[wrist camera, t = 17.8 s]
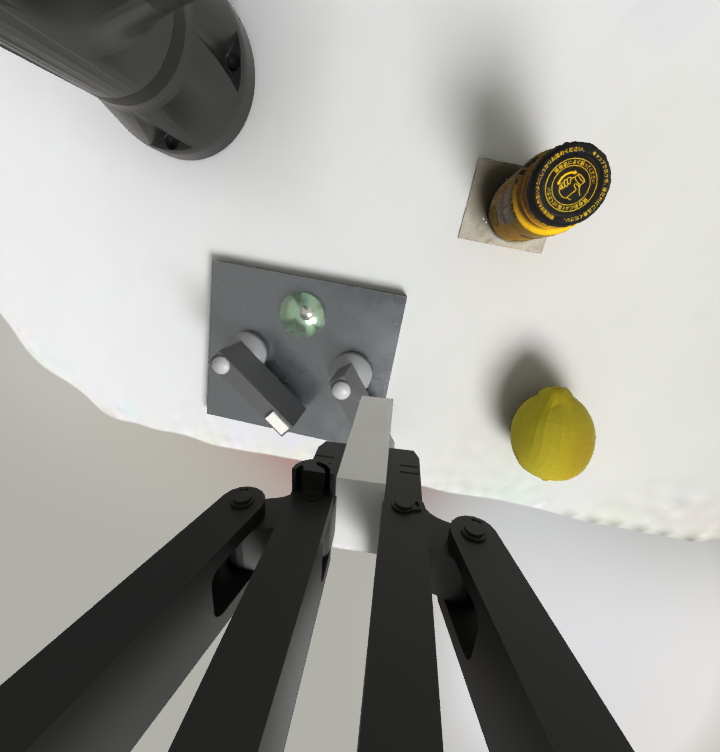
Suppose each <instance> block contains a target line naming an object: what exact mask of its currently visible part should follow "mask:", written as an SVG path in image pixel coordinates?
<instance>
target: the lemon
mask: <svg viewBox="0 0 720 752" xmlns="http://www.w3.org/2000/svg"><path fill="white" fill-rule="evenodd" d="M595 439H596V435H595V428H594V424H593V421H592V419H591V417H590V415H589V413H588V411H587V410H586V408H585V407H584V406H583V404H581V403H580V402H579V401H578V400H577V399H576V398H575V397H573V395H572V393H571V392H570V391H569V390H568V389H567V388H562V387H559V386H552V387H546V388H543V389H542V390H540V392H539V393H538V394H537V395H535V396H532V397H531V398H529V399H528V400H526V401H525V402H524V403H523V404H522V405H521V406H520V407H519V409H518V410H517V412H516V413H515V416H514V418H513V420H512V424H511V445H512V449H513V452H514V454H515V456H516V458H517V460H518V462H519V464H520V465H521V466H522V467H523V468H524V469H525V470H526V471H528V472H529V473H531V474H533V475H535V476H537V477H539V478H541V479H542V480H544V481H548V480H553V481H563V480H568V479H571V478H573V477H575V476H577V475H579V474H580V473H581V472H582V471H583V470H584V469H585V468H586V466H587V465H588V463H589V461H590V459H591V457H592V454H593V451H594V447H595Z"/></svg>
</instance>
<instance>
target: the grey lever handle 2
mask: <svg viewBox="0 0 720 752" xmlns="http://www.w3.org/2000/svg"><path fill="white" fill-rule="evenodd" d="M329 378H330V381H329V383H328V384H329V386H330V388H331V389H332V393H333V395H334V396H335V397H336V398H337V400H338V402H339V404H340V406H341V407H342V409H343V411H344V413H345V415H346V416H347V418H348V420H349V422H350V424H351V425H352V426H353V423H354V419H355V416H356V413H357V410H358V407H359V403H360V400H361V397H362V396H369V394H368V392H367V390H366V388H367V387H368V385H369V383H370V381H371V378H372V368H371V365H370V363H369V362H368V360H367V359H366V358H365V357H364V356H362V355H360V354H358V353H354V352H347V353H343V354H341V355H340V356H338V357H337V358H336V359H335V360H334V362H333V363H332V365H331V367H330V370H329ZM389 448H394V441H393V439H392V437H391V435H390V441H389Z"/></svg>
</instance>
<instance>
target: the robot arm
mask: <svg viewBox="0 0 720 752" xmlns="http://www.w3.org/2000/svg"><path fill="white" fill-rule="evenodd" d="M0 46H1V47H2V48H4V49H6V50H8V51H10V52H12V53H14V54H16V55H18V56H20V57H22V58H23V59H25V60H27V61H29V62H31V63H33V64H35V65H37V66H39V67H41V68H43V69H44V70H46V71H48V72H50V73H52V74H54V75H56V76H58V77H60V78H62V79H64V80H65V81H67V82H69V83H71V84H73V85H75V86H77V87H79V88H81V89H83V90H85V91H86V92H88V93H90V94H92V95H94V96H96V97H98V98H99V100H100V101H101V102H102V103H103V104H104V105H105V106H106V107H107V108H108V109H109V110H110V111H111V112H112V113H113V114H114V116H115V117H116V118H117V119H118V120H119V121H120V122H121V123H122V124H123V125H124V126H125V127H126V128H127V129H128V130H129V131H130V132H131V133H132V134H133V135H134V136H135V137H136V138H138V139H139V140H140V141H142V142H143V143H145V144H146V145H148V146H149V147H151V148H153V149H155V150H157V151H160V152H162V153H164V154H166V155H168V156H171V157H174V158H177V159H182V160H200V159H205V158H208V157H211V156H213V155H215V154H217V153H219V152H220V151H222V150H223V149H225V148H226V147H227V146H228V145H229V144H230V143H231V142H232V141H233V140H234V139H235V138H236V136H237V135H238V134H239V132H240V131H241V129H242V127H243V126H244V124H245V122H246V119H247V117H248V114H249V112H250V108H251V105H252V101H253V95H254V86H255V69H254V60H253V54H252V50H251V46H250V42H249V39H248V36H247V34H246V31H245V29H244V27H243V24H242V23H241V21H240V19H239V17H238V16H237V14H236V12H235V11H234V9H233V8H232V6H231V5H230V4H229V2H228V1H227V0H0ZM392 407H393V399H388V398H379V397H370V396H362V397H361V400H360V403H359V407H358V410H357V413H356V416H355V419H354V423H353V426H352V429H351V432H350V435H349V439H348V442H347V444H346V443H338V442H330V441H326V442H325V443H323V444H322V445H321V446H319V447H318V449H317V452H316V454H315V456H314V458H313V459H309V460H305V461H301V462H299V463H298V464H296V465H295V466H294V467H293V468H292V492H291V494H290V495H288V496H285V497H280V498H270V499H265V495H264V494H263V492H262V491H261V490H259V489H257V488H254V487H239V488H236V489H233V490H231V491H229V492H228V493H226V494H224V495H223V496H222V497H221V498H220V499H219V500H217V501H216V502H215V503H214V504H213V505H212V506H210V507H209V508H208V509H207V510H206V511H204V512H203V513H202V514H201V515H200V516H199V517H197V518H196V519H195V520H194V521H193V522H192V523H190V524H189V525H188V526H187V527H186V528H185V529H184V530H182V531H181V532H180V533H179V534H177V535H176V536H175V537H174V538H173V539H172V540H171V541H169V542H168V543H167V544H166V545H165V546H163V547H162V548H161V549H160V550H159V551H158V552H156V553H155V554H154V555H153V556H152V557H151V558H149V559H148V560H147V561H146V562H145V563H143V564H142V565H141V566H140V567H139V568H138V569H137V570H135V571H134V572H133V573H132V574H131V575H129V576H128V577H127V578H126V579H125V580H124V581H122V582H121V583H120V584H119V585H118V586H117V587H115V588H114V589H113V590H112V591H111V592H109V593H108V594H107V595H106V596H105V597H104V598H102V599H101V600H100V601H99V602H98V603H97V604H96V605H94V606H93V607H92V608H91V609H90V610H89V611H87V612H86V613H85V614H84V615H83V616H81V617H80V618H79V619H78V620H77V621H76V622H74V623H73V624H72V625H71V626H70V627H69V628H67V629H66V630H65V631H64V632H63V633H61V634H60V635H59V636H58V637H57V638H56V639H54V640H53V641H52V642H51V643H50V644H48V645H47V646H46V647H45V648H44V649H43V650H42V651H40V652H39V653H38V654H37V655H36V656H35V657H33V658H32V659H31V660H30V661H29V662H27V663H26V664H25V665H24V666H23V667H22V668H20V669H19V670H18V671H17V672H16V673H14V674H13V675H12V676H11V677H10V678H9V679H8V680H7V681H5V682H4V683H3V684H2V685H1V686H0V752H130V751H131V750H132V749H133V747H134V746H135V745H136V743H137V742H138V741H139V739H140V738H141V737H142V735H143V734H144V733H145V731H146V730H147V729H148V727H149V726H150V725H151V723H152V722H153V721H154V719H155V718H156V717H157V715H158V714H159V713H160V711H161V710H162V709H163V707H164V706H165V705H166V703H167V702H168V701H169V699H170V698H171V697H172V695H173V694H174V693H175V691H176V690H177V689H178V687H179V686H180V685H181V683H182V682H183V681H184V679H185V678H186V677H187V675H188V674H189V673H190V671H191V670H192V669H193V667H194V666H195V665H196V663H197V662H198V660H199V659H200V658H201V657H202V655H203V654H204V653H205V651H206V650H207V649H208V647H209V646H210V645H211V643H212V642H213V641H214V639H215V638H216V637H217V635H218V634H219V633H220V631H221V630H222V629H223V627H224V626H225V625H226V623H227V622H228V621H229V619H230V618H231V617H232V618H231V620H230V622H229V624H228V627H227V629H226V631H225V633H224V635H223V637H222V639H221V641H220V644H219V646H218V648H217V650H216V652H215V654H214V656H213V658H212V660H211V663H210V665H209V667H208V669H207V671H206V673H205V675H204V677H203V679H202V681H201V683H200V685H199V688H198V690H197V692H196V694H195V696H194V698H193V700H192V702H191V704H190V706H189V709H188V711H187V713H186V715H185V717H184V719H183V721H182V723H181V725H180V728H179V730H178V732H177V734H176V736H175V738H174V740H173V742H172V744H171V746H170V748H169V751H168V752H284V748H285V744H286V740H287V736H288V731H289V727H290V723H291V719H292V715H293V711H294V707H295V703H296V698H297V695H298V690H299V686H300V682H301V678H302V674H303V670H304V666H305V662H306V658H307V653H308V649H309V645H310V641H311V637H312V633H313V629H314V625H315V621H316V617H317V612H318V608H319V604H320V600H321V596H322V592H323V587H324V584H325V579H326V576H327V571H328V567H329V563H330V552H331V545H332V541H333V547H335V548H342V549H348V550H355V551H362V552H368V553H375V554H377V559H376V568H375V577H374V588H373V597H372V609H371V617H370V627H369V637H368V648H367V658H366V667H365V677H364V687H363V697H362V707H361V716H360V726H359V736H358V746H357V752H443V741H442V726H441V713H440V699H439V685H438V672H437V659H436V644H435V630H434V617H433V603H432V594H435V595H437V597H438V603H439V606H440V608H441V611H442V614H443V617H444V620H445V623H446V626H447V629H448V632H449V635H450V638H451V641H452V644H453V647H454V650H455V652H456V656H457V658H458V661H459V664H460V667H461V670H462V673H463V676H464V679H465V682H466V685H467V688H468V691H469V694H470V697H471V700H472V703H473V705H474V708H475V711H476V714H477V717H478V720H479V723H480V726H481V729H482V732H483V735H484V737H485V740H486V744H487V746H488V749H489V752H634V750H633V749H632V747H631V745H630V744H629V742H628V741H627V739H626V737H625V736H624V734H623V733H622V731H621V730H620V728H619V726H618V725H617V723H616V722H615V720H614V718H613V717H612V715H611V714H610V712H609V710H608V709H607V707H606V706H605V704H604V703H603V701H602V699H601V698H600V696H599V695H598V693H597V691H596V690H595V688H594V687H593V685H592V684H591V682H590V680H589V679H588V677H587V675H586V674H585V673H584V671H583V669H582V668H581V666H580V664H579V663H578V661H577V660H576V658H575V656H574V655H573V653H572V652H571V650H570V648H569V647H568V645H567V644H566V642H565V640H564V639H563V637H562V636H561V634H560V633H559V631H558V629H557V628H556V626H555V625H554V623H553V621H552V620H551V618H550V617H549V615H548V613H547V612H546V610H545V609H544V607H543V606H542V604H541V602H540V601H539V599H538V598H537V596H536V595H535V593H534V591H533V590H532V588H531V587H530V585H529V583H528V582H527V580H526V579H525V577H524V575H523V574H522V572H521V571H520V569H519V567H518V566H517V564H516V563H515V561H514V559H513V558H512V556H511V555H510V553H509V551H508V550H507V548H506V547H505V546H504V544H503V542H502V540H501V539H500V537H499V536H498V534H497V532H496V531H495V530H494V529H493V528H492V527H491V525H489V524H488V523H486V522H485V521H483V520H481V519H479V518H476V517H473V516H460V517H457V518H455V519H454V520H452V522H451V523H448V522H446V521H443V520H441V519H438V518H437V517H435V516H433V515H432V514H430V513H429V512H428V511H427V510H426V509H425V506H424V503H423V502H422V494H421V478H420V463H419V458H418V456H417V455H416V454H415V452H414V451H410V450H402V449H394V448H389V441H390V430H391V418H392ZM232 615H233V616H232Z"/></svg>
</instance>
